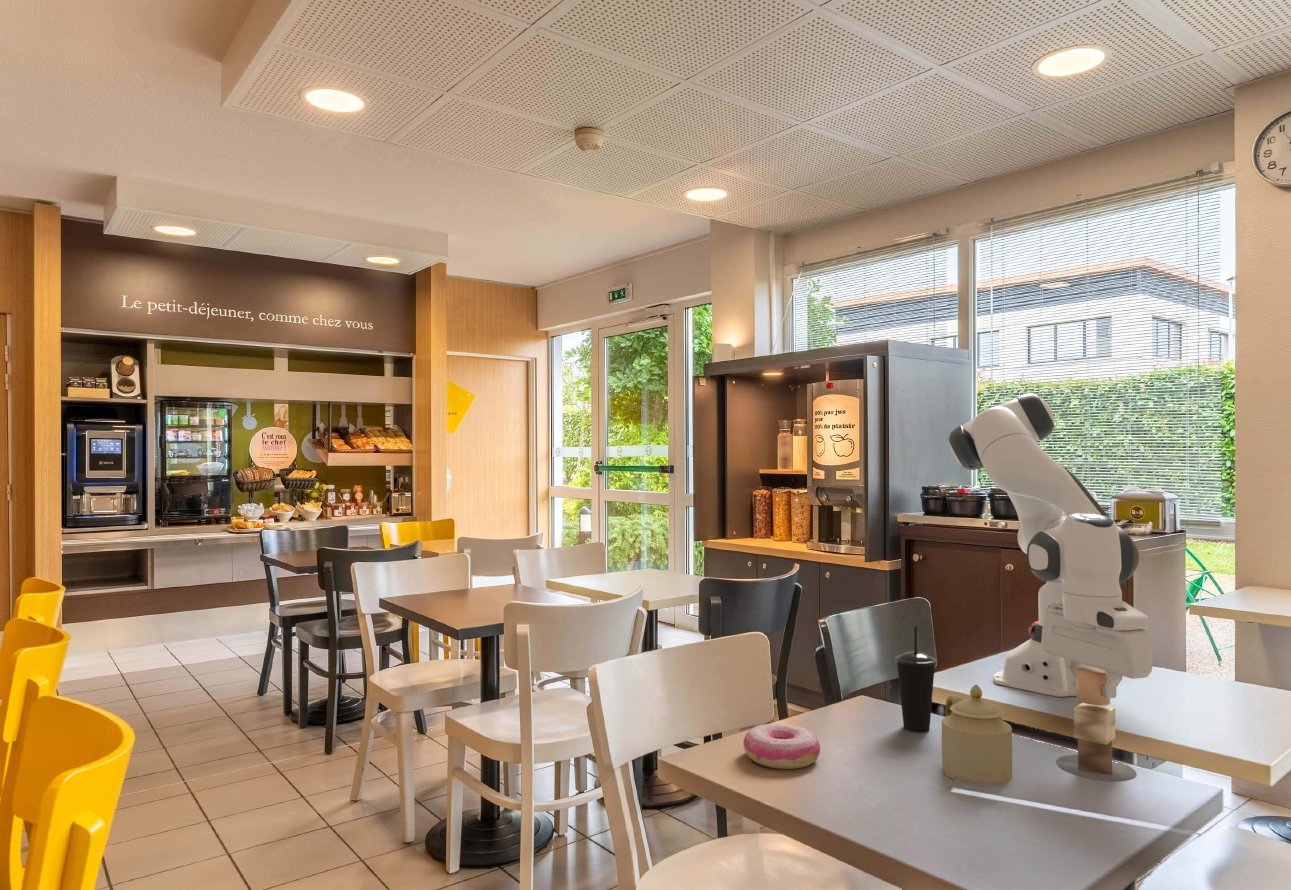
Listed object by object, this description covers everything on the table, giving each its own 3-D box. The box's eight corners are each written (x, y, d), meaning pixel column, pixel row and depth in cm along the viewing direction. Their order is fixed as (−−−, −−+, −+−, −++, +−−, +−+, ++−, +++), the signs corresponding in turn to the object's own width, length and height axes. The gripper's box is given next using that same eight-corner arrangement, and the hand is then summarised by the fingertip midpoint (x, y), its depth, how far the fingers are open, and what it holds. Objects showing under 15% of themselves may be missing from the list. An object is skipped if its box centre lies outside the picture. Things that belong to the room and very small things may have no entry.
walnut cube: (1078, 769, 139) (1077, 739, 139) (1079, 759, 143) (1078, 730, 144) (1112, 774, 137) (1111, 744, 137) (1112, 765, 141) (1111, 735, 141)
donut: (778, 780, 137) (777, 749, 138) (727, 756, 149) (727, 728, 149) (836, 763, 145) (835, 734, 145) (783, 741, 156) (783, 714, 156)
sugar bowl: (910, 762, 144) (909, 676, 145) (952, 751, 150) (951, 667, 150) (983, 792, 132) (982, 697, 132) (1027, 778, 137) (1025, 687, 137)
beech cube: (1074, 737, 140) (1073, 708, 140) (1083, 730, 144) (1083, 701, 144) (1106, 744, 137) (1106, 714, 137) (1115, 737, 140) (1115, 707, 140)
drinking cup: (896, 732, 160) (894, 628, 160) (896, 720, 167) (895, 621, 168) (937, 736, 158) (936, 631, 158) (936, 723, 165) (935, 623, 165)
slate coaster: (1047, 772, 139) (1047, 769, 139) (1065, 753, 148) (1065, 749, 148) (1129, 790, 132) (1129, 786, 132) (1142, 768, 141) (1142, 765, 141)
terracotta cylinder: (1073, 701, 140) (1072, 671, 140) (1080, 694, 144) (1079, 665, 144) (1106, 706, 137) (1106, 676, 137) (1112, 700, 141) (1112, 670, 141)
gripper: (1031, 600, 150) (1032, 677, 149) (1127, 622, 130) (1128, 710, 130) (1060, 598, 151) (1061, 674, 151) (1158, 619, 132) (1160, 707, 132)
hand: (1093, 691), depth 140 cm, fingers closed on terracotta cylinder, 5 cm apart
